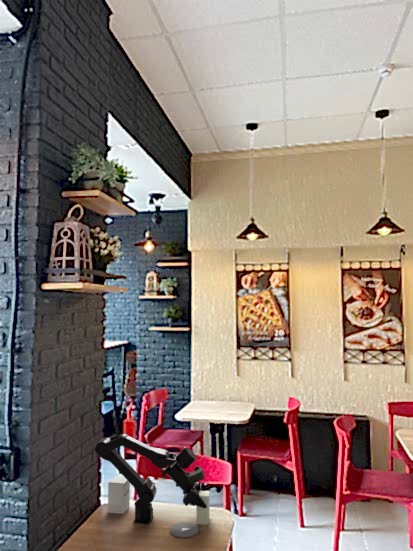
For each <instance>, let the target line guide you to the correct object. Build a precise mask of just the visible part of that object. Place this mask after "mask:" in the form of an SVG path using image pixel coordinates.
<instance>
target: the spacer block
mask: <svg viewBox="0 0 413 551" xmlns="http://www.w3.org/2000/svg"><path fill="white" fill-rule="evenodd" d="M199 496H200V497H201V499H202V500H203V501H204V503H205V504H206V506H207V507H206V508H202V507H199V506H196V505H195V506H196V507H195V508H196V509H195V510H196V514H195V515H196V525H210V519H211V518H210V517H211V516H210V515H211V514H210V491H209V490H202V491H199Z"/></svg>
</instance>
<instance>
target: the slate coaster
mask: <svg viewBox="0 0 413 551" xmlns="http://www.w3.org/2000/svg"><path fill="white" fill-rule="evenodd" d="M169 529H170V534H171V535H172V536H174V537H177V538H181V539H182V538H184V539H185V538H192V537H194V536H197V534H198V533H199V530H200V529H199V526H198V524H197V523H196V524H195V523H193V522H190V521H189V522H188V521H183V522H177V523H175V524H173V525H172V526H171V527H170V528H169Z"/></svg>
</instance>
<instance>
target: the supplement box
mask: <svg viewBox="0 0 413 551" xmlns="http://www.w3.org/2000/svg"><path fill="white" fill-rule="evenodd" d="M107 484H108V485H107V488H108V490H107V513H110V514H120V515H124V514H125V513H126V511H127V510H128V509H129V508H130V502H131V500H130V499H131V498H130V495H131V493H130V492H131V488H130V487H131V486H130V484H131V483H130V482H129V481H128V480H127V479H126V478H125V477H124V476H114V477H112V478H111V480H110V481H109V482H108V483H107Z"/></svg>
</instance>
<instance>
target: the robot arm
mask: <svg viewBox="0 0 413 551" xmlns="http://www.w3.org/2000/svg"><path fill="white" fill-rule="evenodd" d="M120 447H124V448H126V449H129V450H131V451H132V452H134V453H137V454H139V455H140V456H143V457H145V458H147V459H148V460H149V461H150V462H151V464H153V465H154V466H155V467H157V468H158V469H162V470H161V473H162V475H161V477H162V478H165V476H166V475H167V476H168V477H169V478H170V479H171V480H172V481H173V482H174V483H175V486H176V488H178V487H179V489H180V490H182V494H183V498H182V503H183V505H184V506H186V507H188V506H189V505H193V506H199V507H202V508H206V507H207V506H206V504H205V503H204V501H203V500H202V499H201V497H200V496H199V491H203V489H202V486H201V484H202V482H201V481H202V480H204V479H205V478H206V477H205V476H206V474H205V472H204V469H203V468H202V467H201V466H199V465H196V466H194V469H193V471H192V472H189V471H185V469H186V470H187V469H188V468H189V467H190V466H191V465H193V463H194V462H196V460H197V458H198V457H197V455H196V453H194V451H193V450H191V449H190V448H187V447H186V446H184V447H183V448H182V450H180V452H179V453H174V452H170V451H169V450H167V449H164V448H159V447H158V448H157V447H153V446H150V445H148V444H146V443H144V442H142V441H140V440H138V439H136V438H134V437H132V436H129V435H128V434H127V433H121V434H119V435H114V436H112V437H103V438H102V439H100V441H99V442H97V444H96V445H95V450H94V451H95V453H96V455H97V456H99V458H101V459H103V460H104V461H107V462H110V464H111V465H113V466H114V468H115V469H116V470H118V471H117V472H119V473H120V474H121V475H122V477H125V478H126V479H127V480H128V481H129V482H130V484H131V486H132V487H133V488H134V491H135V493H136V495H137V498H136V500H135V502H134V519H133V523H136V524H137V523H138V524H145V525H148V524H149V523H151V521H152V520H153V519H154V508H153V503H152V502H153V501H154V499H155V496H156V494H157V486H156V483H155V482H153V481H152V480H151V478H150V477H147V478H143V477H142V476H140V474H139V473H138V472H137V471H136V470H135V469H134V468H133V467H132V466H131V465H130V464H129V463H128V461H127V460H126V459H124V458H123V456H122V455H121V454H120V453H119V451H118V448H120Z"/></svg>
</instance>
